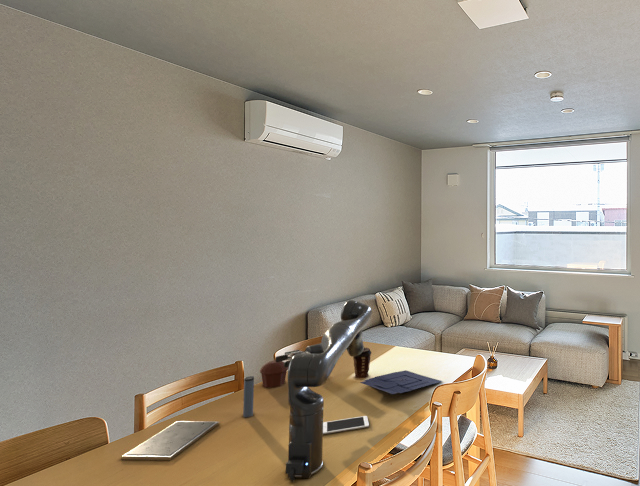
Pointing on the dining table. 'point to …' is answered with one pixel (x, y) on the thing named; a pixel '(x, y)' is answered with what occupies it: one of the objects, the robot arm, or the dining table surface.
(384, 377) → the navy compartment tray
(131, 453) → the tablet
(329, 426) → the cell phone
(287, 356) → the robot arm
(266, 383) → the muffin
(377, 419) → the dining table surface
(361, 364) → the coffee cup
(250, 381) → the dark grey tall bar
